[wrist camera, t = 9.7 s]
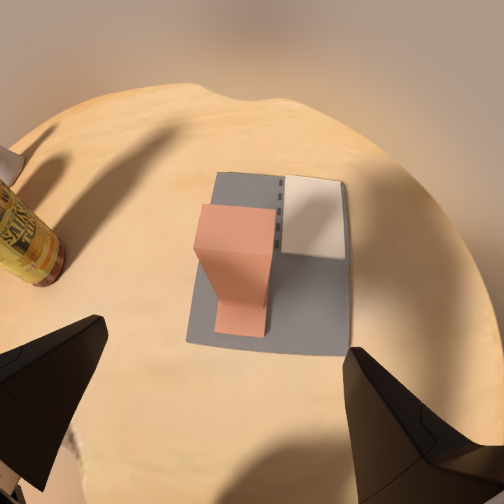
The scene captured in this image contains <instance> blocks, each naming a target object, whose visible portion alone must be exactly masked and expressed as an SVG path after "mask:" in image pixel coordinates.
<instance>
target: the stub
mask: <svg viewBox="0 0 504 504" xmlns="http://www.w3.org/2000/svg"><path fill="white" fill-rule="evenodd" d="M275 214H276V210H273V209H262V208H251V207H239V206H226V205H212V204H203V205H202V210H201V214H200V219H199V223H198V228H197V232H196V237H195V242H194V247H193V248H194V251H195V253H196V255H197V257H198V259H199V261H200V263H201V265H202V267H203V269H204V271H205V273H206V275H207V277H208V279H209V281H210V283H211V285H212V287H213V289H214V291H215V293H216V295H217V297H218V299H219V301H218V308H217V315H216V322H215V330H214V332H215V333H222V334H230V335H239V336H248V337H258V338H264V330H265V320H266V309H267V299H268V288H269V276H270V266H271V260H272V253H273V241H274V228H275Z"/></svg>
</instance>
